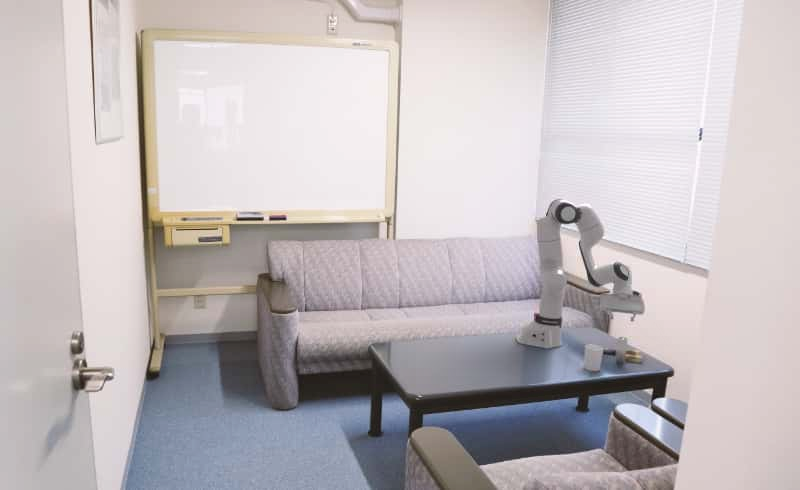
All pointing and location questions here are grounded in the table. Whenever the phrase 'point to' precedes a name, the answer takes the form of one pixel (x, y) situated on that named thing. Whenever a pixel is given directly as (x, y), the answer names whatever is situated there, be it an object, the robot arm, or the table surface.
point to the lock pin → (609, 351)
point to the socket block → (633, 356)
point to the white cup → (593, 357)
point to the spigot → (621, 350)
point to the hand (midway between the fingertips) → (621, 319)
